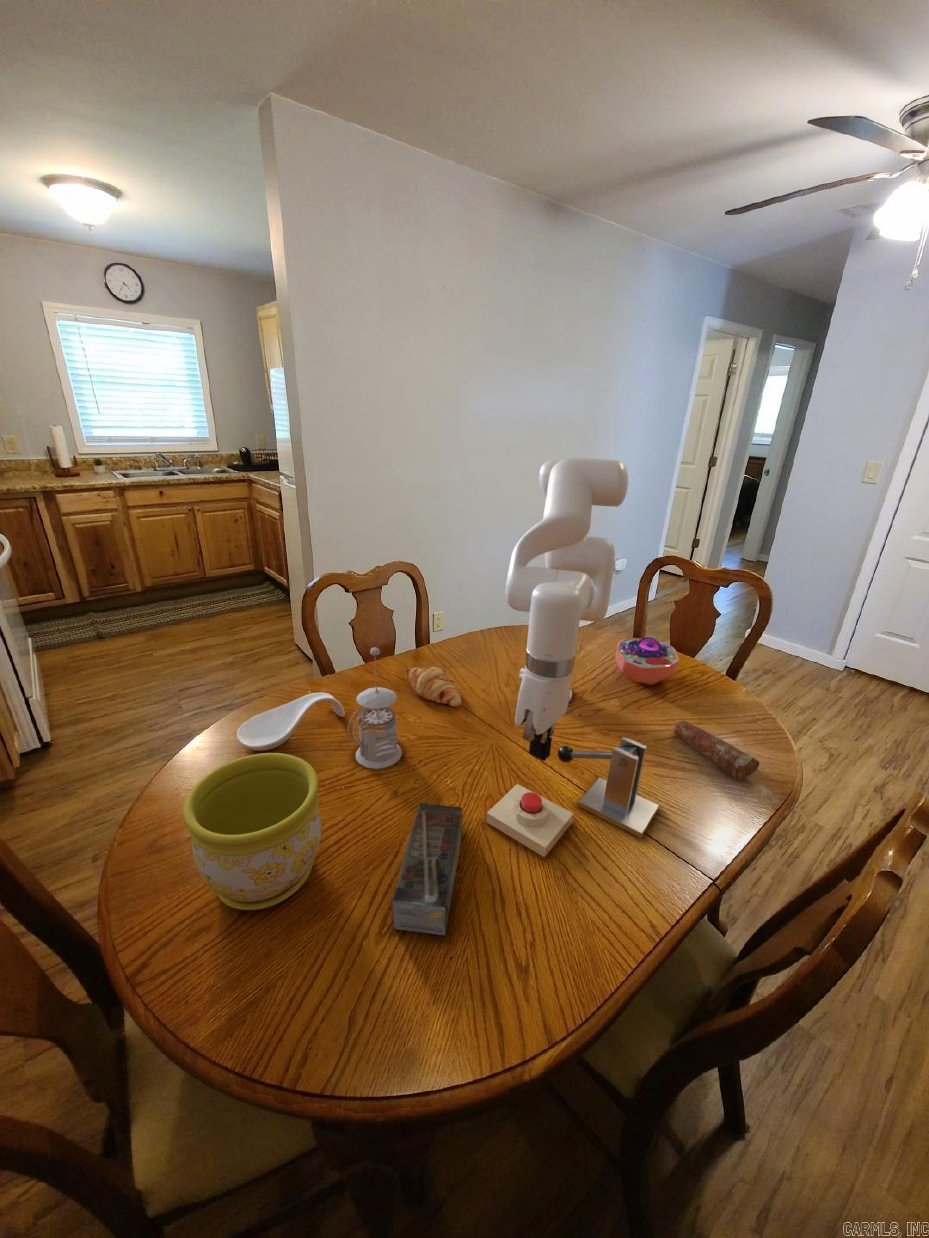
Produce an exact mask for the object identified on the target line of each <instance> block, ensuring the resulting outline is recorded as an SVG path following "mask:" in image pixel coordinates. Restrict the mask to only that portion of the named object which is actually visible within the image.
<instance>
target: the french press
mask: <svg viewBox="0 0 929 1238" xmlns="http://www.w3.org/2000/svg"><path fill="white" fill-rule="evenodd" d="M369 654H370V655H371V656H373V657H374V679H375V680H374V681H375V687H369V688H367V689H365V690H363V691H361V692H360V693H359V694H358V695H357V696H356V703H357V704H358V705H359V706H360V707H361V708H362V709H364V710H362V711H361V712H360V709H357V710H355V711H354V712H353V713H352V714H351V716H350V719H349V721H348V725H347V734H348V737H349V738H350V739H351V741H354V742H355V743H356V744H357V745H359V747H358V749H357V750H356V752H355V760H356V761H357V762H358V764H359V765H361V766H363V767H365V768H368V769H373V770H374V769H377V770H378V769H386V768H388V767H391V766H393V765H394V764H397V762H398V761H399V760H400V759H401V758H402V755H403V751H402V747H400V745H399V744H398V733H397V731H398V728H397V727H398V725H397V724H398V722H397V718H396V713H395V710H393V709H392V708H391V706H393V705H394V704H395V703H396V701H397V700H398V696H397V693H395V692H394V691H393V690H391V689H389V688H386V687H380V686H378V685H377V684H378V683H377V682H378V681H377V657H376V656H379V655H380V654H381V650H380V649H379V648H378V647H376V646H374V647H372V648H371V649H370V651H369ZM357 712H358V716H357V718H356V720H355V722H354V724H353V727H352V736H351V733H350V725H351V721H352V719H353V718H354V715H355V714H356V713H357ZM357 722H358V733H359V739H356V737H355V729H356V724H357ZM365 725H366V726H365ZM367 729H368V730H367ZM371 730H375V731H371ZM377 730H378V731H377Z"/></svg>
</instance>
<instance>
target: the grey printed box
mask: <svg viewBox="0 0 929 1238" xmlns="http://www.w3.org/2000/svg"><path fill="white" fill-rule="evenodd" d="M462 835H463V807H460V806H448V805H440V804H430V803H429V804H428V803H421V802H419V804H418V808H417V810H416V813H415V816H414V820H413V823H412V827H411V830H410V834H409V837H408V841H407V844H406V847H405V851H404V855H403V859H402V863H401V867H400V871H399V874H398V879H397V882H396V887H395V889H394V894H393V896H392V901H391V903H392V905H391V907H392V908H391V909H392V911H391V914H392V922H393V926H394V929H395V930H398V931H408V932H417V933H423V934H431V935H438V936H446V933H447V927H448V921H449V913H450V908H451V903H452V898H453V897H452V896H453V891H454V886H455V880H456V875H457V868H458V863H459V857H460V851H461V844H462V838H463V837H462Z"/></svg>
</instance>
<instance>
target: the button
mask: <svg viewBox="0 0 929 1238" xmlns="http://www.w3.org/2000/svg"><path fill="white" fill-rule="evenodd" d="M532 792H533V791H532ZM532 792H528V793H525V794H524V795H523V796H522V799H521V808H522V810H523V811H524V812H526V813H528V814H537V813H539V812H540V811H541V806H542V799H541V797H540V796H541V795H540V794H538V793H536V792H534V793H532ZM539 795H540V796H539Z"/></svg>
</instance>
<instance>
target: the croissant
mask: <svg viewBox="0 0 929 1238" xmlns="http://www.w3.org/2000/svg"><path fill="white" fill-rule="evenodd" d="M406 675H407V680H408V681H407V682H408V683H409V685H410V686H411V689H412V690H413V691H414V692H415V694H416V695H418V696H420V697H421V698H422V699H424V700H428V701H431V702H436V703H438V704H444V705H446V704H447V705H448V706H450V707H459V706H461V704H462V696H461V694H460V692H459V690H458V687H457V685H456V683H455V681H453V680H451V679H450V677H449V675H448V674H447V673H446V671H445V670H444V669H442V668H440V667H438V666H434V665H429V666H427V667H426V666H425V667H424V666H423V667H417V666H416V667H411V666H409V667H407V668H406Z"/></svg>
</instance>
